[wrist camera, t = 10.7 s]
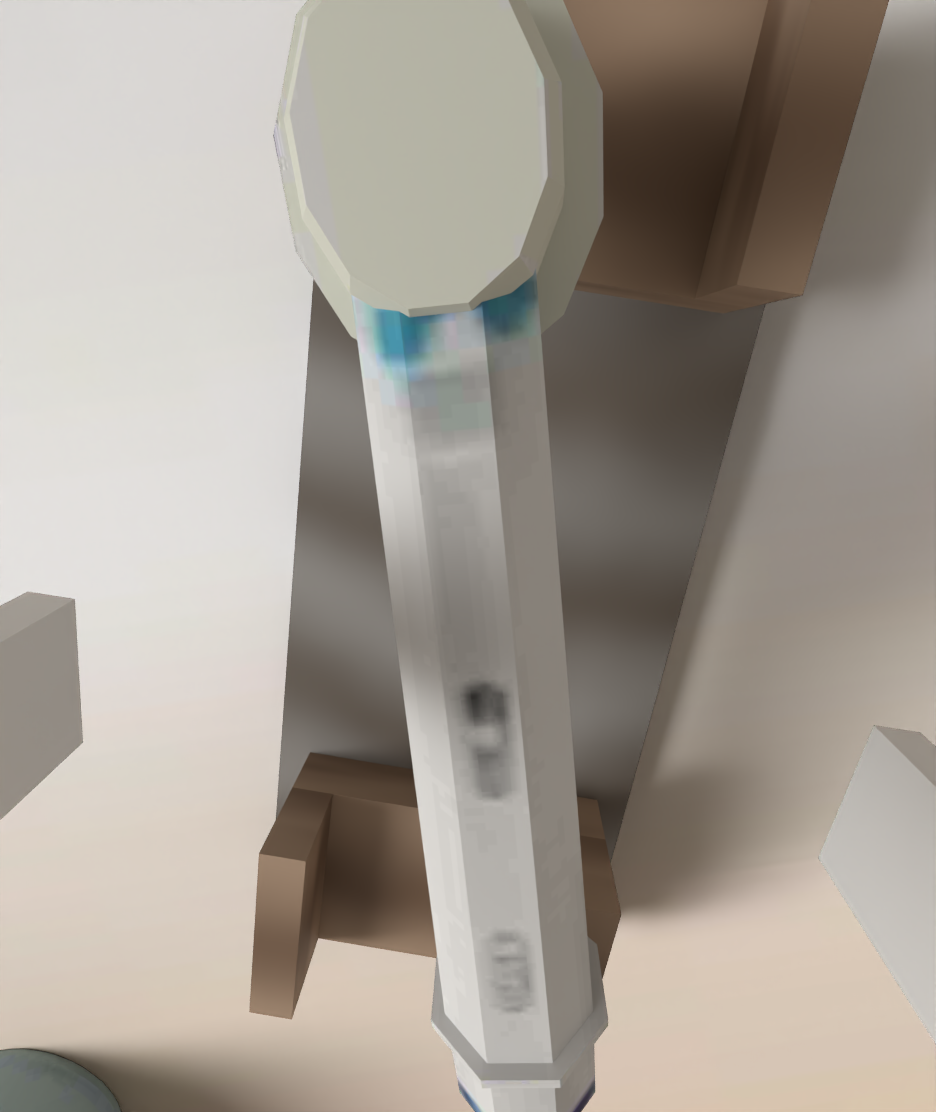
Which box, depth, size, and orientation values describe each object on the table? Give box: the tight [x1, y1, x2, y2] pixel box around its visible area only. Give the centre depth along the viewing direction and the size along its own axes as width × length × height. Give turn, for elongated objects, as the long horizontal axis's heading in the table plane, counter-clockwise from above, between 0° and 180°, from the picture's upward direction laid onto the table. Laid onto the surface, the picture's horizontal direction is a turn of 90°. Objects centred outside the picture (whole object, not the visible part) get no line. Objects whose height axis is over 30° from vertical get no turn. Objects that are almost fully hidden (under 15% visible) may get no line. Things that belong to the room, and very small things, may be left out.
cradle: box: [250, 0, 889, 1019], centre depth 19 cm, size 31×13×6 cm, turn 171°
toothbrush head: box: [273, 0, 608, 1112], centre depth 13 cm, size 5×7×25 cm
